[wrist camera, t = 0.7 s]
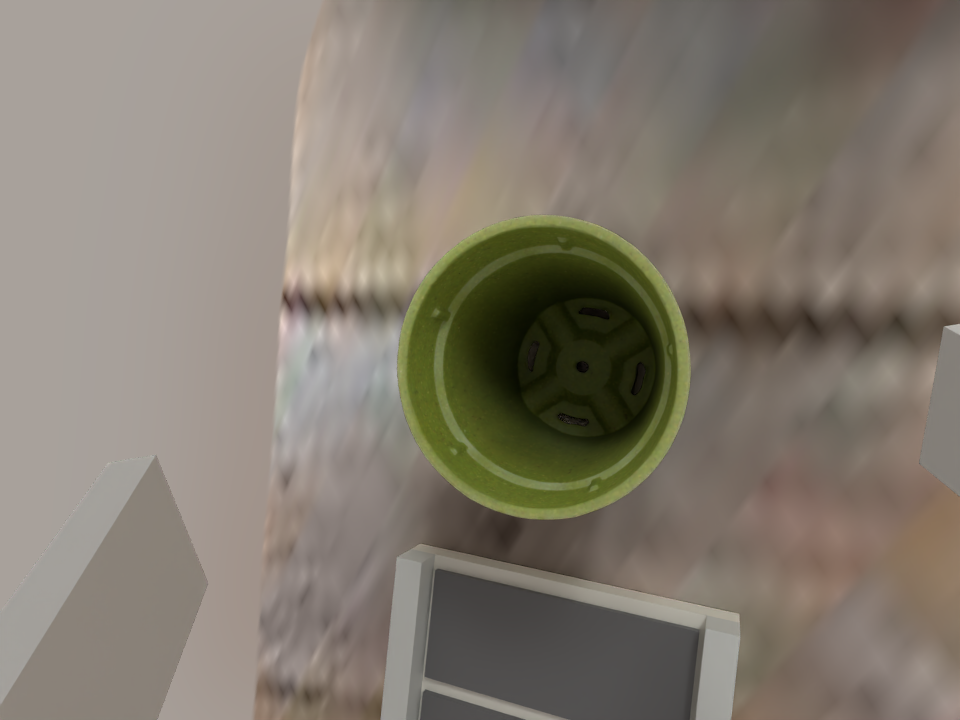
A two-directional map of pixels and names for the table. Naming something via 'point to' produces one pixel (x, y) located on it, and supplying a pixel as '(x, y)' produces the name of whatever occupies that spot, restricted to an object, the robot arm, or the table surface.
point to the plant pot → (543, 367)
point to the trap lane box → (548, 647)
